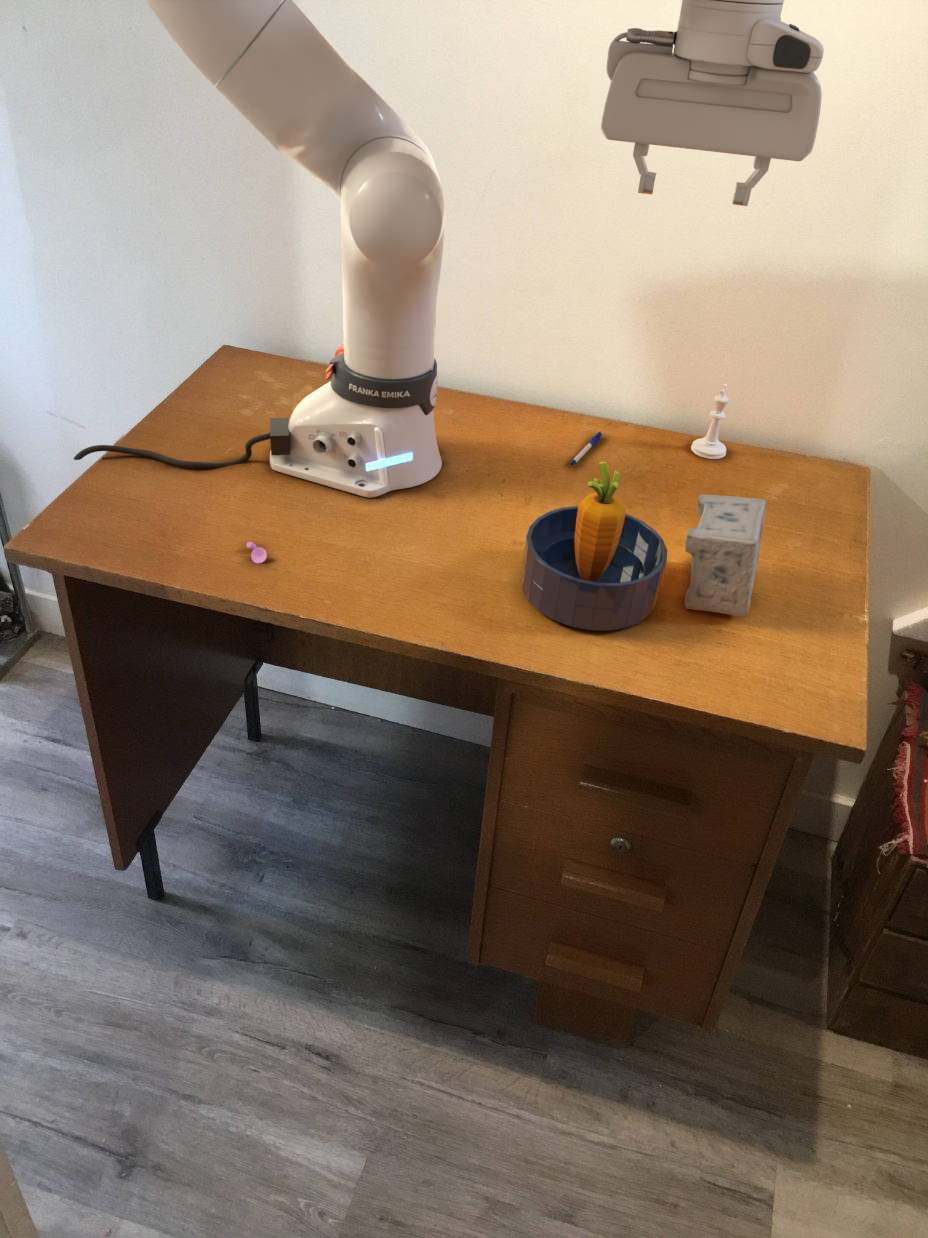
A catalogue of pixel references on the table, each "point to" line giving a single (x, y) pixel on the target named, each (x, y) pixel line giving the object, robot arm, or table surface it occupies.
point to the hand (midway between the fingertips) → (692, 198)
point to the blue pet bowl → (586, 603)
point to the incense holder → (724, 553)
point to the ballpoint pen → (587, 447)
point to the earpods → (257, 553)
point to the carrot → (598, 526)
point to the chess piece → (713, 431)
